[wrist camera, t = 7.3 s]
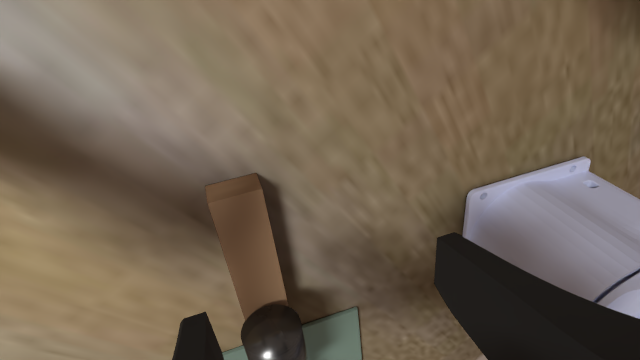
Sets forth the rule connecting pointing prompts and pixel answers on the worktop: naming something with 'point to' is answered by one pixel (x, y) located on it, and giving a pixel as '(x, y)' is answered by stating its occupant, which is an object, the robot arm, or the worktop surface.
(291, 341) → the dark grey round-headed part
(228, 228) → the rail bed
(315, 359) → the mat
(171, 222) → the worktop surface
